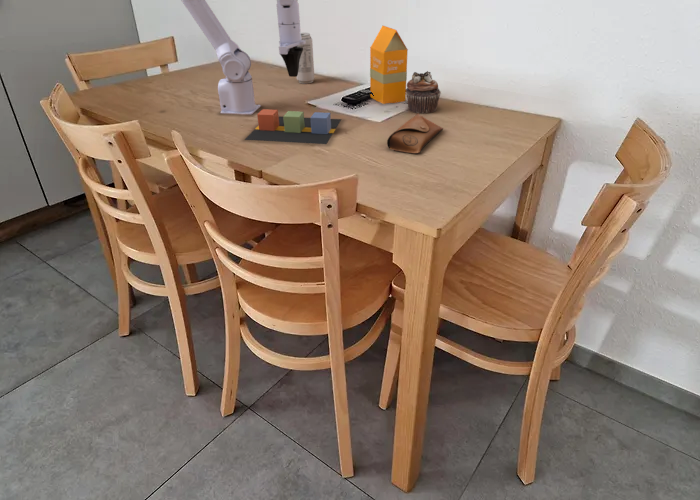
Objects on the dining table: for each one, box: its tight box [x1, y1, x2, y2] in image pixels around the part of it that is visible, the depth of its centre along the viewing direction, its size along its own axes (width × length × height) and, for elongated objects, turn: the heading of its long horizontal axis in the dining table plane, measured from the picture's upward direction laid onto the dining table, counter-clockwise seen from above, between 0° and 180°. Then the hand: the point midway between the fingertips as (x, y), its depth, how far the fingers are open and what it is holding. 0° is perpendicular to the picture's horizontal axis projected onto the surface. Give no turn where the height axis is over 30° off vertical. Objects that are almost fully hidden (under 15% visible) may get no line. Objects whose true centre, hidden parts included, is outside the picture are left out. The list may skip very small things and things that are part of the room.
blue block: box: [310, 111, 332, 134], centre depth 125 cm, size 4×4×4 cm
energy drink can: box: [296, 32, 315, 85], centre depth 162 cm, size 6×6×15 cm
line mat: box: [244, 116, 342, 145], centre depth 128 cm, size 21×18×1 cm
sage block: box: [282, 110, 305, 133], centre depth 126 cm, size 4×4×4 cm
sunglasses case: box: [386, 113, 444, 154], centre depth 120 cm, size 18×7×7 cm
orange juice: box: [369, 25, 409, 105], centre depth 143 cm, size 8×9×20 cm
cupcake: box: [406, 70, 442, 114], centre depth 137 cm, size 10×10×10 cm
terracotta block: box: [256, 108, 280, 131], centre depth 128 cm, size 4×4×4 cm
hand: (293, 76), depth 137 cm, fingers closed
